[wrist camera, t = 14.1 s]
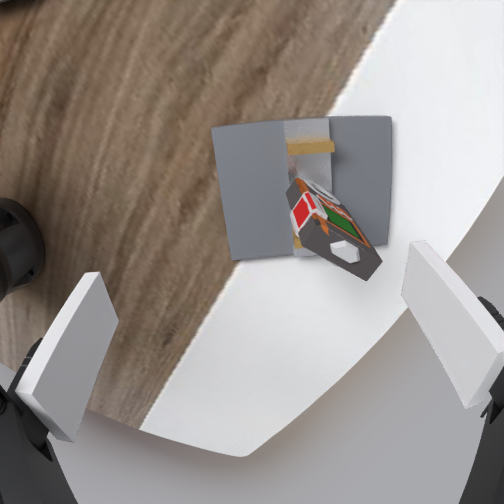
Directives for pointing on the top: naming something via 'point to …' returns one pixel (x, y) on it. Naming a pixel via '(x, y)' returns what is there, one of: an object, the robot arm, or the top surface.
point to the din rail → (308, 159)
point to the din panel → (276, 184)
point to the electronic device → (330, 229)
